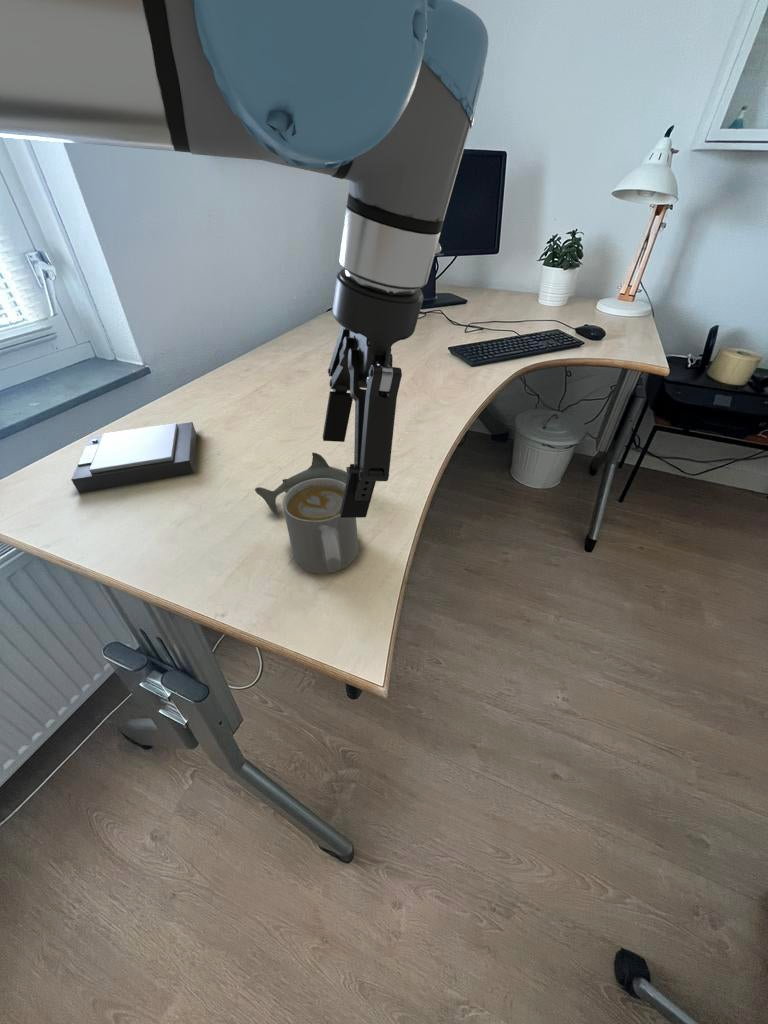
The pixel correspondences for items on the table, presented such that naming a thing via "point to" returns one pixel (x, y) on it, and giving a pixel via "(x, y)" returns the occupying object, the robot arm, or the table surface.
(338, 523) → the coffee mug
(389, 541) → the table surface
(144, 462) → the scale
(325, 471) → the shark figurine
